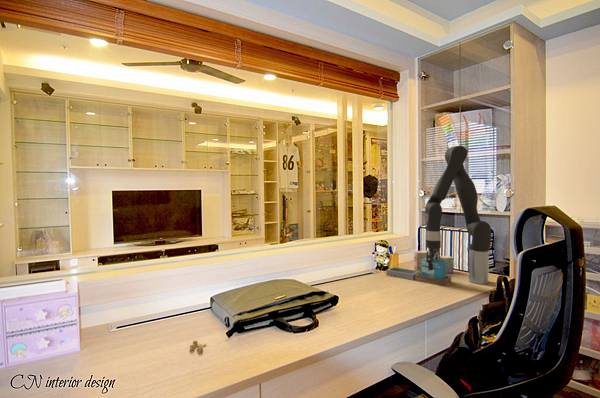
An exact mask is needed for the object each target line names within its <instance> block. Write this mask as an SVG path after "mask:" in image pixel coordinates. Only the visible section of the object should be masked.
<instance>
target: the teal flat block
mask: <svg viewBox="0 0 600 398" xmlns="http://www.w3.org/2000/svg"><path fill="white" fill-rule="evenodd" d="M421 276H426V277H431V278H437V279H443V280H445V279H446V276H447V273H446V262H445V261H443V260H437V259H435V260H433V270H428V262H426V258H424V259H422V260H421Z"/></svg>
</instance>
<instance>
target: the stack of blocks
mask: <svg viewBox="0 0 600 398" xmlns="http://www.w3.org/2000/svg"><path fill="white" fill-rule="evenodd" d="M427 251H428V250H414V251H413V252H414V253H413V254H414V256H413V261H414V262H413V263H414V265H413V266H414V267H413V268H414V269H413V270H416V271H420V272H421V260H422V259H424V258H426V257H427ZM439 260H443V261H445V262H446V274H448V273H449V274H454V258H453V257H452V256H451V255H440V259H439Z"/></svg>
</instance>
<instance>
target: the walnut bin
mask: <svg viewBox="0 0 600 398" xmlns="http://www.w3.org/2000/svg"><path fill="white" fill-rule="evenodd" d="M414 281H416V282H420V283H426V284H431V285H437V286H443V287H446V286H448V285H450V284H451V283H452V276H449V275H446V279H445V280H443V279H437V278H431V277H426V276H421V272H420V273H418V274H416V275H415V279H414Z"/></svg>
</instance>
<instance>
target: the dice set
mask: <svg viewBox="0 0 600 398" xmlns="http://www.w3.org/2000/svg"><path fill="white" fill-rule="evenodd" d="M198 343H199V342H198V340H193V341H192V344H190V345H189V351H190V352H193V351H195V349H197V352H198V354H200V353H201V354H202V353H203V352H204V348H205V347H207V344H206V343H204V344H201V343H199V344H198Z"/></svg>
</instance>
